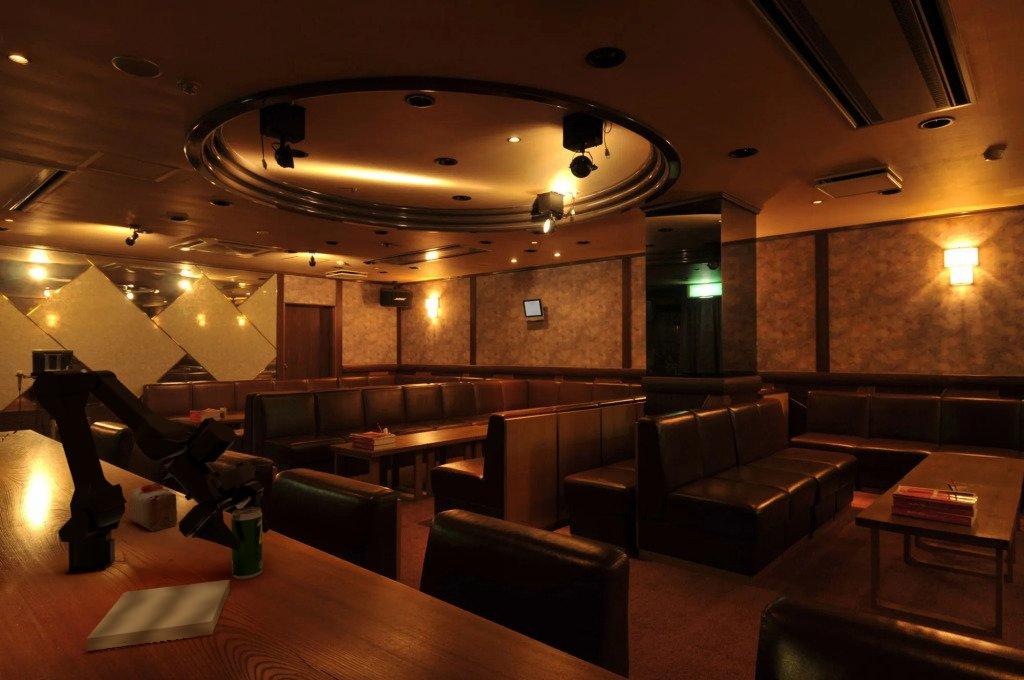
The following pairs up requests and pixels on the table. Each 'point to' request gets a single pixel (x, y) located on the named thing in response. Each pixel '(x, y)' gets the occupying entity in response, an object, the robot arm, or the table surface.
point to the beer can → (247, 543)
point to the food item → (153, 507)
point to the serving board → (161, 615)
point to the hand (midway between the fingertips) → (253, 539)
